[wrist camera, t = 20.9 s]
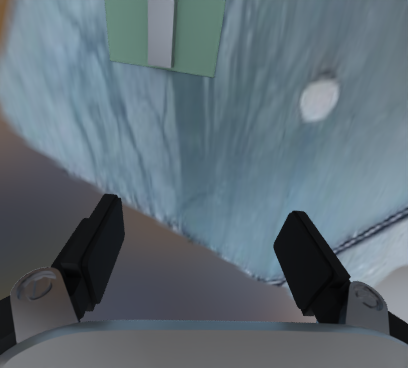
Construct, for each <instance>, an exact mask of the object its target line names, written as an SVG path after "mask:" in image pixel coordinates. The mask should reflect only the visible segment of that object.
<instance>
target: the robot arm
mask: <svg viewBox="0 0 408 368" xmlns="http://www.w3.org/2000/svg"><path fill="white" fill-rule="evenodd" d="M124 235H125V232H124V222H123V212H122V201H121V198H118V196H117V195H114V194H104V195H103V197H102V198H101V200H100V202H99V203H98V205H97V206H96V208H95V210H94V211H93V213H92V214H91V216H90V217H89V218H84V219H83V220H82V221H81V222H80V224H79V225H78V227H77V228H76V230H75V231H74V233H73V234H72V236H71V237H70V239H69V240H68V242H67V243H66V245H65V246H64V247H63V249H62V250H61V252H60V253H59V255H58V256H57V258H56V259H55V261H54V262H53V264H52V266H51V267H44V268H39V269H36V270H33V271H31V272H30V273H28V274H26V275H25V276H23V277H22V278H21V279H19V280H18V282H17V283H16V284H15V285H14V287H13V288H12V290H11V295H10V296H8V297H6V298H4V299H2V300H0V368H408V324H407V323H406V322H404V321H403V320H401V319H400V318H398V317H396V316H395V315H393V314H392V313H391V312H389V311H388V308H387V304H386V302H385V301H384V299H383V298H382V296H381V295H380V294H379V293H378V292H377V291H376V290H375V289H373V288H372V287H370V286H369V285H367V284H365V283H363V282H359V281H353V282H352V283H351V282H350V280H349V278H350V277H351V276H350V275H349V274H348V272H347V271H346V269H345V268H344V266H343V265H342V264H341V262H340V261H339V259H338V258H337V256H336V255H335V254H334V252H333V251H332V249H331V248H330V247H329V245H328V244H327V242H326V241H325V239H324V238H323V237H322V235H321V234H320V232H319V231H318V229H317V228H316V227H315V225H314V224H313V222H312V221H311V220H310V218H309V217H308V215H307V214H306V213H305V212H304V211H292V213H289V215H288V217H287V219H286V221H285V223H284V225H283V227H282V229H281V230H280V232H279V234H278V236H277V238H276V240H275V242H274V246H273V247H274V251H275V253H276V256H277V258H278V261H279V263H280V266H281V268H282V271H283V273H284V275H285V278H286V280H287V283H288V285H289V288H290V290H291V293H292V295H293V297H294V300H295V302H296V305H297V307H298V308H299V309H301V311H302V313H303V316H314V315H315V317H316V319H317V321H316V323H295V322H248V321H246V322H245V321H186V320H185V321H184V320H183V321H182V320H179V321H178V320H103V321H88V322H80V319H81V318H82V317H83V316H84V314H85V311H93V310H94V307H95V305H96V304H99V303H100V302H101V299H102V297H103V294H104V291H105V288H106V286H107V283H108V281H109V278H110V275H111V273H112V270H113V267H114V265H115V262H116V259H117V256H118V254H119V251H120V249H121V246H122V243H123V241H124Z"/></svg>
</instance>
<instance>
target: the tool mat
mask: <svg viewBox="0 0 408 368" xmlns="http://www.w3.org/2000/svg"><path fill="white" fill-rule="evenodd" d="M225 2H226V0H178V4H177V21H176V38H175V55H174V67H172V68H165V67H159V66H153V65H148V0H105V10H106V21H107V32H108V42H109V53H110V61H116V62H122V63H128V64H134V65H140V66H146V67H152V68H158V69H164V70H170V71H177V72H183V73H189V74H195V75H201V76H207V77H213V78H214V73H215V66H216V60H217V53H218V47H219V41H220V34H221V28H222V21H223V15H224V8H225Z"/></svg>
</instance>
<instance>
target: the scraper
mask: <svg viewBox="0 0 408 368" xmlns="http://www.w3.org/2000/svg"><path fill="white" fill-rule="evenodd" d="M177 4H178V0H148V65H153V66H159V67H165V68H172V67H174V55H175V38H176V21H177Z"/></svg>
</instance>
